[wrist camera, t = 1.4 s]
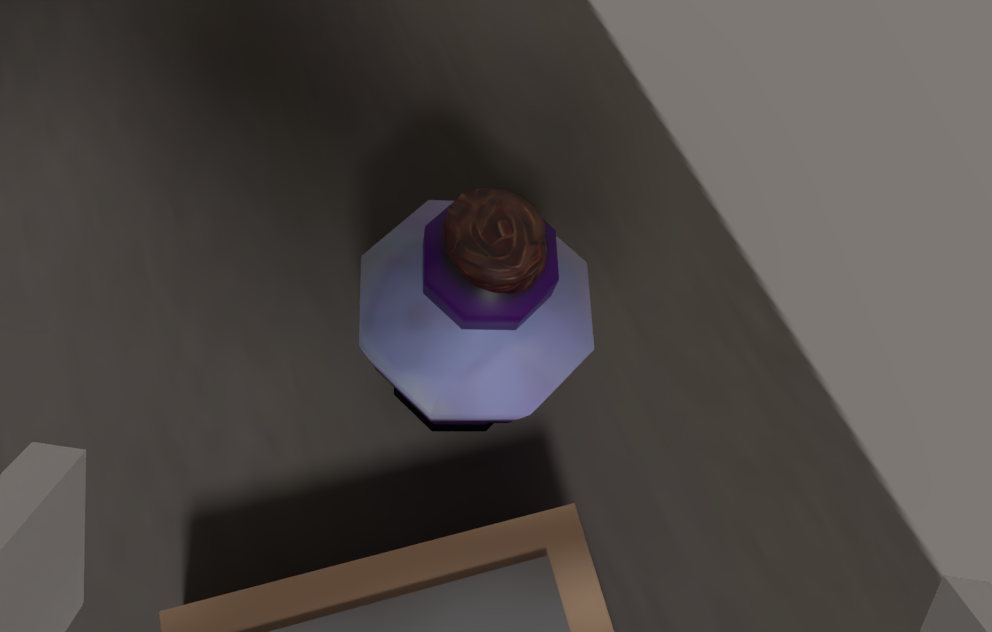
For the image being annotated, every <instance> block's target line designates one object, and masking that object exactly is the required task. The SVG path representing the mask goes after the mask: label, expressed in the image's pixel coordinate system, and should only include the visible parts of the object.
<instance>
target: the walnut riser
mask: <svg viewBox="0 0 992 632" xmlns="http://www.w3.org/2000/svg"><path fill="white" fill-rule="evenodd" d="M159 615H160V623H161V630H162V632H614V630H613V627H612V624H611V620H610V617H609V614H608V611H607V607H606V604H605V601H604V598H603V594H602V591H601V588H600V585H599V581H598V578H597V575H596V571H595V568H594V565H593V562H592V558H591V555H590V552H589V549H588V545H587V542H586V539H585V536H584V532H583V529H582V526H581V523H580V519H579V516H578V513H577V510H576V506H575V503H573V504H569V505H565V506H561V507H557V508H553V509H550V510H546V511H542V512H538V513H534V514H530V515H527V516H523V517H519V518H515V519H511V520H507V521H504V522H500V523H496V524H492V525H488V526H484V527H481V528H477V529H473V530H469V531H465V532H461V533H458V534H454V535H450V536H446V537H442V538H438V539H435V540H431V541H427V542H423V543H419V544H415V545H412V546H408V547H404V548H400V549H396V550H392V551H389V552H385V553H381V554H377V555H373V556H369V557H366V558H362V559H358V560H354V561H350V562H346V563H343V564H339V565H335V566H331V567H327V568H323V569H320V570H316V571H312V572H308V573H304V574H300V575H297V576H293V577H289V578H285V579H281V580H277V581H274V582H270V583H266V584H262V585H258V586H254V587H251V588H247V589H243V590H239V591H235V592H231V593H228V594H224V595H220V596H216V597H212V598H208V599H205V600H201V601H197V602H193V603H189V604H185V605H182V606H178V607H174V608H170V609H166V610H163V611H159Z"/></svg>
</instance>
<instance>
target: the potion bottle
mask: <svg viewBox="0 0 992 632" xmlns="http://www.w3.org/2000/svg"><path fill="white" fill-rule="evenodd" d="M359 346H360V348H361V349H362V351H363V352H364V353H365V355H366V356H367V358H368V359H369V360H370V362H371V363H372V364H373V366H374V367H375V369H376V370H377V371H378V372H379V373H380V374H381V375H382V376H383V377H384V378H385V379H387V380H388V381H389V382H390V383H391V384H392V385H393V386H394V395H395V396H396V397H397V398H398V399H399V400H400V401H401V402H402V403H403V404H404V405H406V406H407V407H408V408H409V409H410V410H411V411H412V412H413V413H414V414H415V415H416V416H417V417H418V418H419V419H420V420H421V421H422V422H423V423H424V424H425V425H426V426H427V427H428V428H429V429H430V430H431V431H486V430H487V429H488V428H489V427H490V426H491V425H492V424H493V423H509V422H512V421H515V420H517V419H520V418H523V417H525V416H528V415H531V414H532V413H533V412H534V411H535V410H536V409H537V408H538V407H539V406H540V405H541V404H542V402H543V401H544V400H545V399H546V398H547V397H548V396H549V395H550V394H551V393H552V392H553V391H554V390H555V389H556V388H557V387H558V386H559V385H560V384H561V383H562V382H563V381H564V380H565V379H566V378H567V377H568V376H569V375H570V374H571V373H572V372H573V371H574V370H575V369H576V368H577V367H578V365H579V364H580V363H581V362H582V361H583V360H584V359H585V358H586V357H587V356H588V355H589V354H590V353H591V352H592V351H593V350H594V339H593V328H592V316H591V304H590V293H589V281H588V270H587V262H585V261H584V260H583V259H582V258H581V257H580V256H579V255H577V254H576V253H575V252H574V251H573V250H572V249H571V248H570V247H568V246H567V245H566V244H565V243H564V242H563V241H562V240H560V239H559V238H558V237H557V236H556V230H554V229H553V228H552V227H551V226H550V225H549V224H548V223H546V222H545V221H544V220H543V219H542V218H541V217H540V215H539V213H538V212H537V210H536V209H535V208H534V207H533V206H532V205H531V204H530V203H529V202H527V201H526V200H525V199H524V198H523V197H522V196H521V195H519V194H516V193H513V192H510V191H508V190H505V189H502V188H479V189H475V190H472V191H469V192H465V193H462V194H461V195H460V196H459V197H458V198H457V199H456V200H455V201H443V200H428V201H427V202H425V203H424V204H423V205H422V206H421V207H419V208H418V209H417V210H416V211H415V212H413V213H412V214H411V215H410V216H409V217H407V218H406V219H405V220H404V221H403V222H401V223H400V224H399V225H398V226H397V227H395V228H394V229H393V230H392V231H391V232H390V233H388V234H387V235H386V236H385V237H384V238H382V239H381V240H380V241H379V242H378V243H376V244H375V245H374V246H373V247H372V248H370V249H369V250H368V251H367V252H366V253H364V254H363V255H362V256H361V283H360V323H359Z"/></svg>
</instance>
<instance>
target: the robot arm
mask: <svg viewBox="0 0 992 632" xmlns="http://www.w3.org/2000/svg"><path fill="white" fill-rule="evenodd" d="M85 485H86V450H84V449H77V448H70V447H64V446H57V445H50V444H43V443H36V442H32V443H31V444H30V445H29V446H28V447H27V448H26V449H25V450H24V451H23V452H22V453H21V454H20V455H19V456H18V457H17V458H16V459H15V460H14V461H13V462H12V463H11V464H10V465H9V466H8V467H7V468H6V469H5V470H4V471H3V472H2V473H1V474H0V632H65V631H66V630H67V628H68V627H69V625H70V624H71V622H72V620H73V619H74V617H75V616H76V614H77V613H78V611H79V610H80V608H81V607H82V605H83V601H84V543H85ZM920 632H992V584H991V583H990V582H985V581H978V580H970V579H964V578H957V577H951V576H943V578H942V581H941V583H940V585H939V588H938V590H937V592H936V595H935V597H934V599H933V602H932V604H931V607H930V609H929V611H928V614H927V616H926V618H925V621H924V623H923V625H922V628H921V630H920Z"/></svg>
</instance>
